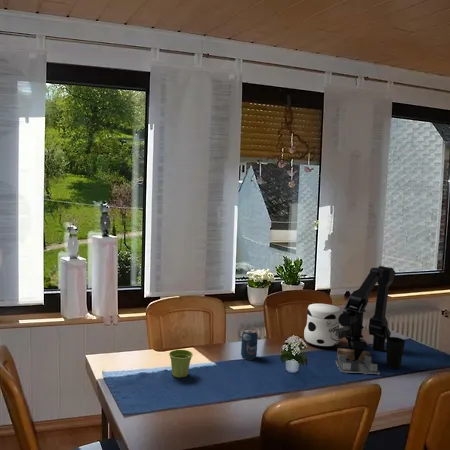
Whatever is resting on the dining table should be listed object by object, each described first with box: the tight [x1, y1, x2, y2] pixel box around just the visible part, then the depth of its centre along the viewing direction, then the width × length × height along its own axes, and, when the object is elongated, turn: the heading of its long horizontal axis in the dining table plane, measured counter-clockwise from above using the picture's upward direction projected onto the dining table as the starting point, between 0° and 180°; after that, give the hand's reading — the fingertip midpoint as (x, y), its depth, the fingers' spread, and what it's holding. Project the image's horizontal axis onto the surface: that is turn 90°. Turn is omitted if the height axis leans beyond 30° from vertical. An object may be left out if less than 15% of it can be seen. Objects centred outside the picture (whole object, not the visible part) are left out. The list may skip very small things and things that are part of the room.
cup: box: [385, 336, 406, 369], centre depth 221 cm, size 8×8×12 cm
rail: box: [336, 347, 371, 361], centre depth 228 cm, size 14×4×4 cm, turn 78°
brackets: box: [335, 355, 381, 376], centre depth 217 cm, size 12×16×4 cm
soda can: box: [240, 328, 259, 361], centre depth 224 cm, size 7×7×12 cm
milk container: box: [303, 303, 341, 348], centre depth 246 cm, size 17×17×18 cm
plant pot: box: [168, 349, 194, 379], centre depth 201 cm, size 9×9×9 cm
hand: (353, 356), depth 228 cm, fingers open, 9 cm apart
